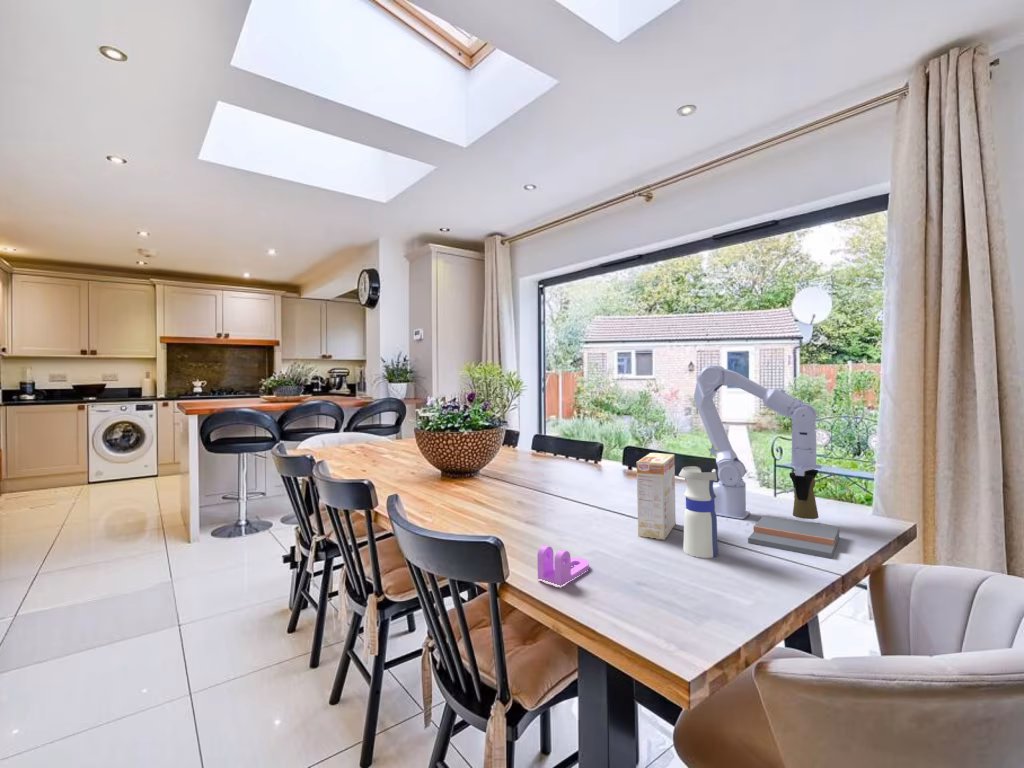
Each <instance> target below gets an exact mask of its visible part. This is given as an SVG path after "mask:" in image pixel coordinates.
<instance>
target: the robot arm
mask: <svg viewBox="0 0 1024 768" xmlns="http://www.w3.org/2000/svg"><path fill="white" fill-rule="evenodd" d="M722 386H725V387H737V388H738V389H740V390H743V391H745V392H747V393H748V394H751V395H753V396H755V397H757V398H759V399H761V400H762V402H763V406H765V407H766V408H768V409H770V410H772V411H773V412H774V413H775V412H776V413H777V414H779V415H781V416H782V417H784V418H790V419H791V421H792V430H791V464H790V466H791V467H792V468H793V471H794V472H793V471H791V472H789V477H790V479H791V482H792V484H793V486H794V489H795V490H796V495H797V498H798V500H804V501H807V499H808V495H809V489H810V485H811V482H812V480H813V478H814V479H815V478H816V477H817V474H818V473H819V470H818V469H822V464H817V431H816V428H817V425H816V423H815V422H816V420H817V418H818V417H817V411H816V409H815V407H813V405H811V404H809V403H807V402H803V401H804V400H803V399H802V398H798V399H797V398H795V396H794V397H793V396H791V395H790V394H788V393H786V390H785V389H783V388H780V389H778V388H777V387H776V388H771V389H768V388H766V387H764V386H762V385H760V384H759V383H757V382H756V381H753V380H752V379H749V378H748V377H746V376H744V375H742V374H741V373H739V372H736V371H734V370H731V369H728V368H725V367H723V366H722V365H706V366H705V367H703V368H702V369H701V370H700V372H699V374H698V375H697V376H696V383H695V388H694V394H693V401H694V404H695V405H696V409H697V411H698V413H699V416H700V418H701V421H702V423H703V427H704V429H705V431H706V434H707V436H708V439H709V441H710V444H711V445H712V444H713V445H714V447H715V449H718V450H719V451H718V452H717V453H716V455H717V458H716V457H715V463H716V466H717V479H718V481H717V482H716V483H715V481H713V490H714V493H715V495H716V498H715V512H716V516H721V517H725V518H732V519H739V520H744V519H746V518H747V517H748V515H750V514H751V512H750V510H747V499H746V498H747V497H746V496H747V494H746V493H747V492H746V491H747V490H746V489H747V487H746V482H745V481H744V479H743V477H744V476H745V475H746V473H747V472H746V466H745V464H744V463H743V462H742V460H740V459H739V457H738V455H737V453H736V452H735V451H734V449H733V447H732V444H731V442H730V440H729V437H728V435H727V431H726V429H725V427H724V425H723V422H722V419H721V418H720V415H719V412H718V409H717V407H716V404H715V402H714V397H715V396H716V393H717V392H718V390H719V389H720V388H721V387H722Z"/></svg>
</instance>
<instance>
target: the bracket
mask: <svg viewBox="0 0 1024 768" xmlns="http://www.w3.org/2000/svg"><path fill="white" fill-rule="evenodd" d="M536 557H537V580H538V579H542V580H545V581H548V582H551V583H554V584H557V585H560V586H561V585H563V584H565V583H566V582H568V581H570V580H572V579H574V578H575V577H577V576H579V575H581V574H582V573H584V572H585V571H587V570H588V569H589V570H590V564H589V563H590V562H589V561H588V560H587V559H584V558H580V557H571V553H570V552H569V551H568V550H564V549H559V550H557V552H556V554H555V557H554V549H553V548H552V546H549V545H545V544H543V545H541V546H540V547H539V549H538V552H537V556H536ZM574 565H577V566H575V567H572V568H571V566H574ZM589 570H588V571H589ZM588 571H587V572H588ZM584 574H585V573H584ZM581 576H582V575H581Z"/></svg>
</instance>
